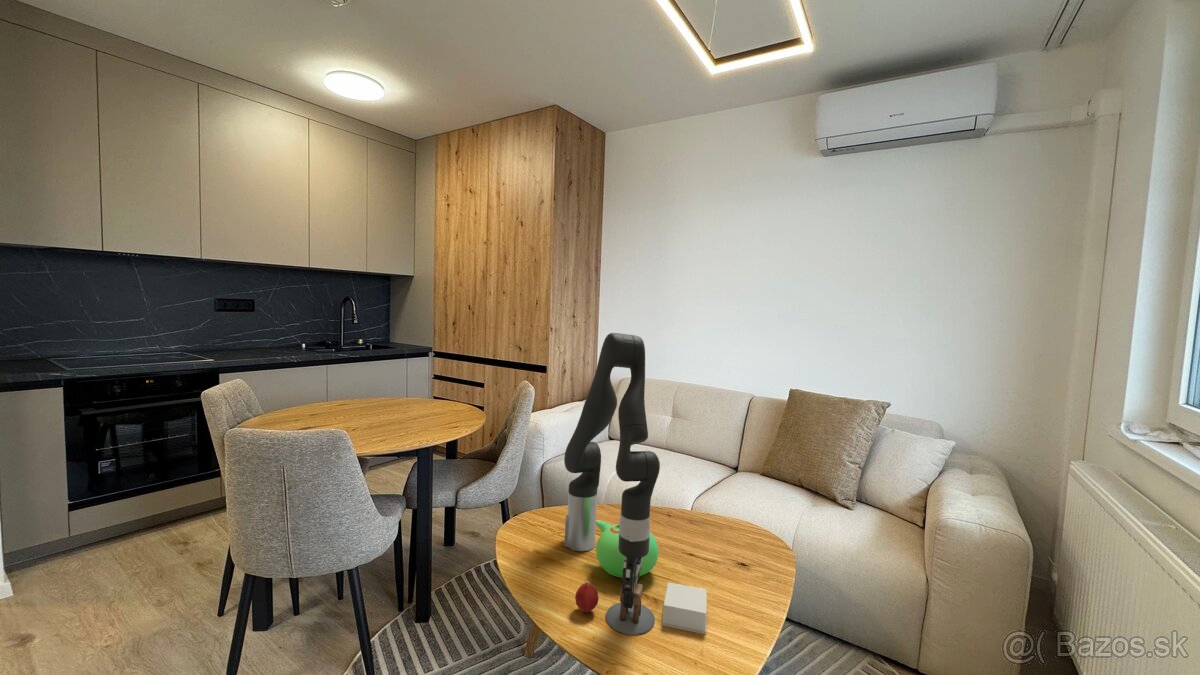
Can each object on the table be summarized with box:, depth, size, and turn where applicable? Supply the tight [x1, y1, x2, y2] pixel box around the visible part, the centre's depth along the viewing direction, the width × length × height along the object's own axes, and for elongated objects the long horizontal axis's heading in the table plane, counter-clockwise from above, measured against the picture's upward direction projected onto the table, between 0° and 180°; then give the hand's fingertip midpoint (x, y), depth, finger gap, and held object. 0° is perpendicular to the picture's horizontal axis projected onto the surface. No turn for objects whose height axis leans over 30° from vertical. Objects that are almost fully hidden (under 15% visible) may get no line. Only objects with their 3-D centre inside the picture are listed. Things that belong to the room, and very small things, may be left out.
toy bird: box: [595, 519, 660, 579], centre depth 134 cm, size 18×17×15 cm
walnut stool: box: [619, 583, 644, 624], centre depth 114 cm, size 5×5×7 cm
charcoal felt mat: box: [605, 601, 656, 636], centre depth 114 cm, size 12×12×1 cm
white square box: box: [661, 581, 708, 635], centre depth 116 cm, size 10×10×5 cm
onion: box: [574, 580, 599, 614], centre depth 116 cm, size 6×6×8 cm
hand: (631, 596), depth 114 cm, fingers open, 8 cm apart
